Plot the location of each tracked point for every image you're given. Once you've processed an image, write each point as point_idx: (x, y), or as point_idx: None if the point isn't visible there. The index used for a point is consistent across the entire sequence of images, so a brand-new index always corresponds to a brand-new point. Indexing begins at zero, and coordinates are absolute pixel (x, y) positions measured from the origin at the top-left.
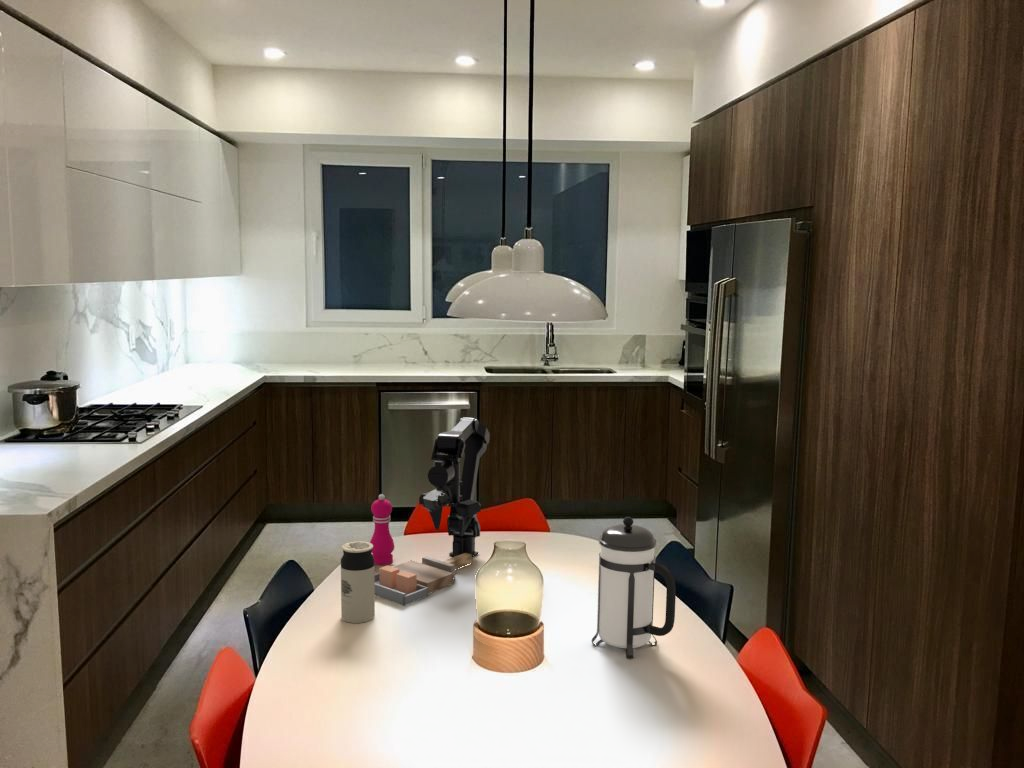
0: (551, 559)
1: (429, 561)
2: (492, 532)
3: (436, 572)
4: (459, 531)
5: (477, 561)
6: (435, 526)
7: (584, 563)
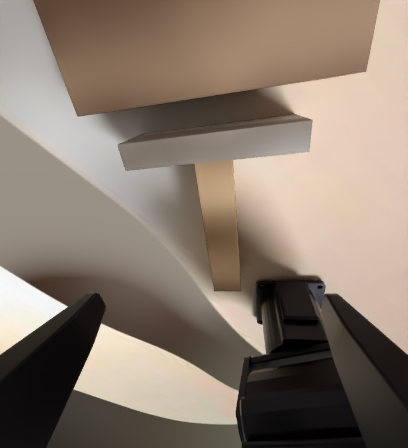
0: (134, 359)
1: (254, 126)
2: None
3: (119, 52)
4: (69, 316)
5: None
6: (345, 314)
7: (90, 367)
